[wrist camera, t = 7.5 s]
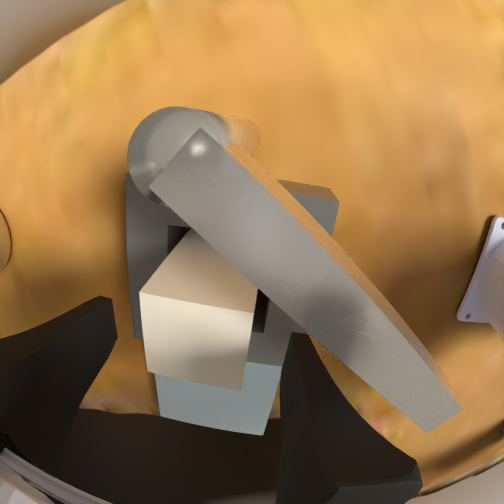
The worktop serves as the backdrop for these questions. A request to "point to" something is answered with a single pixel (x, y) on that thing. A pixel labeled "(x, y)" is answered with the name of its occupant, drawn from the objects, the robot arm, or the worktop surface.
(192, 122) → the grey piece
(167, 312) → the plug
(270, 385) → the tile
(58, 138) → the worktop surface
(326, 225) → the socket block
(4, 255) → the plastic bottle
